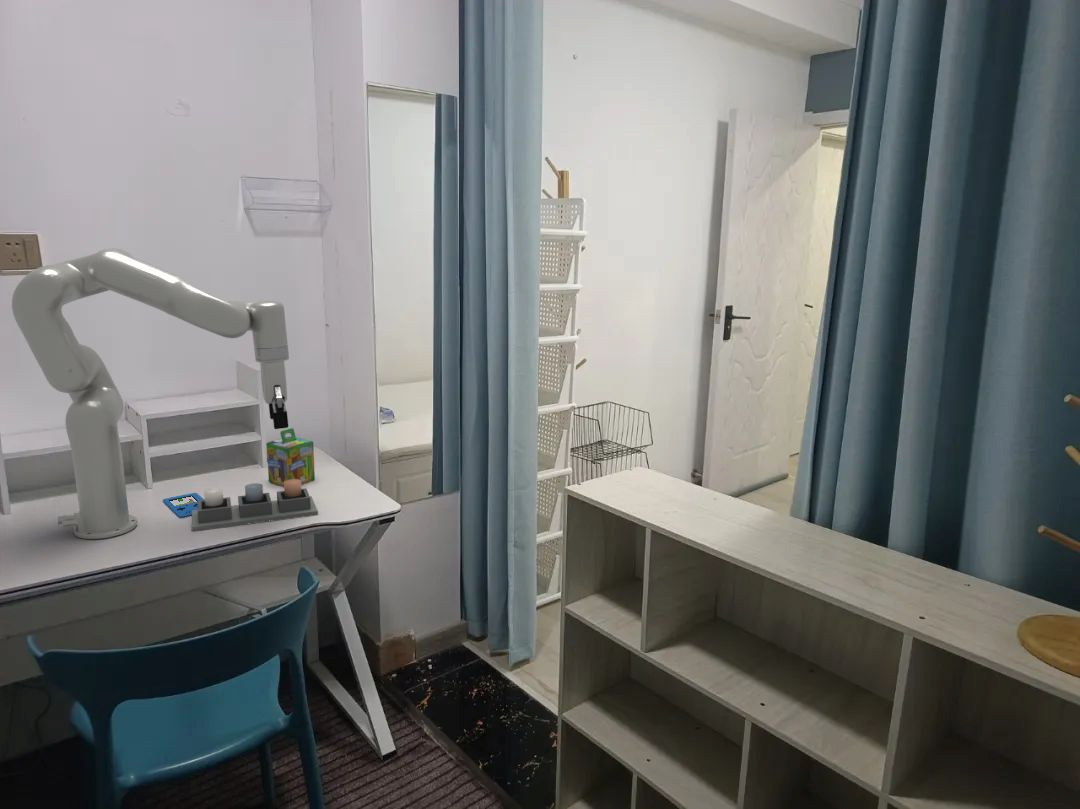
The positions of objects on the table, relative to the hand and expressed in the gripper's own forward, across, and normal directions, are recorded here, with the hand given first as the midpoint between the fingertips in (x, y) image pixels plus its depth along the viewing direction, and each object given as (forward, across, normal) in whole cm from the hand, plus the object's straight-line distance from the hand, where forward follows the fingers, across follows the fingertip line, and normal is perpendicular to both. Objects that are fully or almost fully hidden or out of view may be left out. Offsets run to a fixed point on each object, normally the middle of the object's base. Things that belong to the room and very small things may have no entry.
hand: (279, 423), depth 175 cm
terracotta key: (+18, +1, +1) cm, 18 cm away
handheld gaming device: (+22, -12, -23) cm, 34 cm away
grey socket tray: (+22, 0, -8) cm, 24 cm away
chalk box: (+23, -22, +3) cm, 32 cm away
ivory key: (+18, 0, -17) cm, 24 cm away
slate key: (+18, 0, -8) cm, 20 cm away
